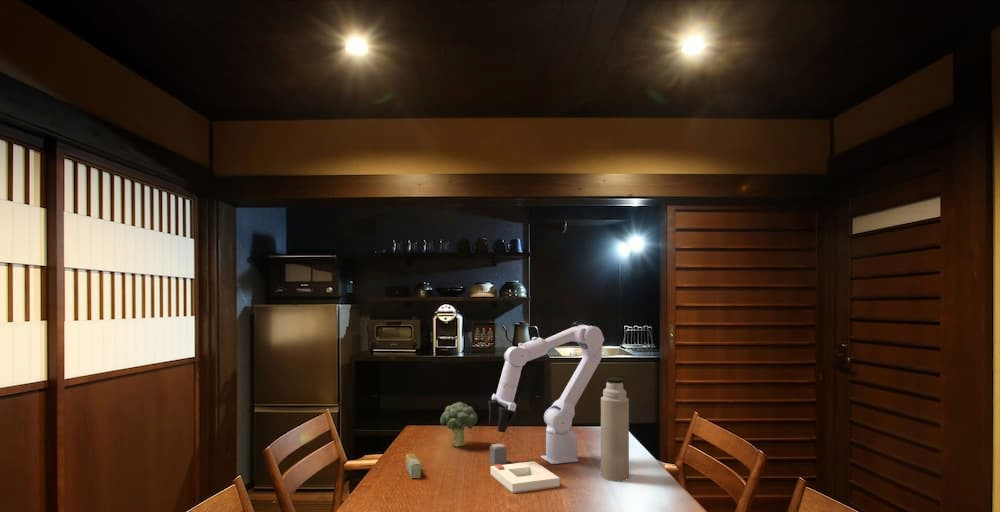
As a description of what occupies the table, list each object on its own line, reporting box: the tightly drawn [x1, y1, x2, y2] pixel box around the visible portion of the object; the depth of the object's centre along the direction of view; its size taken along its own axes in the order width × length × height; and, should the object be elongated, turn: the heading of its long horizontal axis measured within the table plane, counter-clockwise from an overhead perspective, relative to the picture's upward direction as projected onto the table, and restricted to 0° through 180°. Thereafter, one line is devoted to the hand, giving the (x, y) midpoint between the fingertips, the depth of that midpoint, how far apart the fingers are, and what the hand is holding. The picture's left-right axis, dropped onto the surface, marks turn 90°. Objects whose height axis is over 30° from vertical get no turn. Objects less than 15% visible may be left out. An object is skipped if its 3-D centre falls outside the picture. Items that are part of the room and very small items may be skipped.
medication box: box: [405, 453, 422, 479], centre depth 165 cm, size 12×3×4 cm, turn 18°
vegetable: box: [439, 401, 479, 447], centre depth 194 cm, size 12×13×15 cm
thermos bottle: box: [600, 377, 630, 482], centre depth 164 cm, size 8×8×28 cm
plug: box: [489, 443, 508, 466], centre depth 174 cm, size 4×4×6 cm
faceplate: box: [489, 460, 561, 494], centre depth 159 cm, size 14×16×3 cm
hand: (496, 428), depth 174 cm, fingers open, 7 cm apart
